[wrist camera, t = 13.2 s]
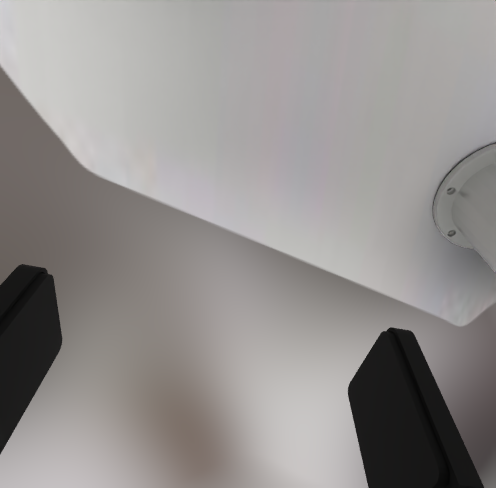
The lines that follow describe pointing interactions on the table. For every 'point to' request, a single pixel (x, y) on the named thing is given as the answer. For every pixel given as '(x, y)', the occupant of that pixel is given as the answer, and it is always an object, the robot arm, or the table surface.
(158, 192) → the table surface
